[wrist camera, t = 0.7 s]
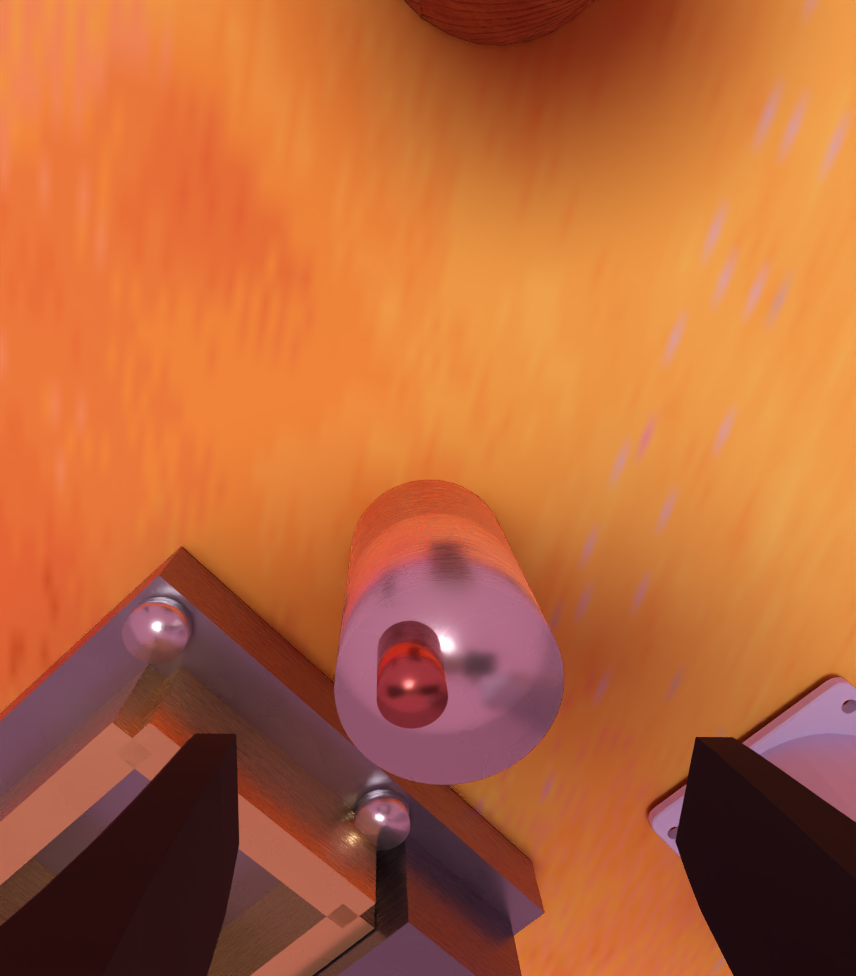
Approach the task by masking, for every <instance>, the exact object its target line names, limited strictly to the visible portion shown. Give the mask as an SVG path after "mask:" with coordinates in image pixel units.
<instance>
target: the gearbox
mask: <svg viewBox="0 0 856 976" xmlns="http://www.w3.org/2000/svg"><path fill="white" fill-rule="evenodd" d="M195 733H211V734H236V738H237V775H238V812H239V848H238V854H237V859H236V864H235V869H234V875H233V880H232V885H231V890H230V895H229V900H228V905H227V910H226V915H225V918H224V921H223V925H222V928H221V932H220V935H219V938H218V942H217V945H216V948H215V951H214V955H213V958H212V961H211V965H210V968H209V971H208V975H207V976H522V975H521V970H520V965H519V960H518V955H517V950H516V945H515V940H514V935H515V934H516V933H518V932H519V931H520V930H522V929H523V928H525V927H526V926H527V925H529V924H530V923H531V922H533V921H534V920H535V919H537V918H538V917H540V916H541V915H542V914H544V913H545V912H544V908H543V904H542V900H541V896H540V893H539V889H538V885H537V881H536V877H535V873H534V869H533V866H532V862H531V861H530V860H529V859H528V858H527V857H526V856H525V855H524V854H523V853H521V852H520V851H519V850H518V849H517V848H516V847H515V846H514V845H513V844H511V843H510V842H509V841H508V840H507V839H506V838H505V837H504V836H503V835H501V834H500V833H499V832H498V831H497V830H496V829H495V828H494V827H493V826H491V825H490V824H489V823H488V822H487V821H486V820H485V819H484V818H483V817H481V816H480V815H479V814H478V813H477V812H476V811H475V810H474V809H473V808H471V807H470V806H469V805H468V804H467V803H466V802H465V801H464V800H463V799H461V798H460V797H459V796H458V795H457V794H456V793H455V792H454V791H453V790H451V789H450V788H449V787H448V786H447V785H437V784H426V783H420V782H414V781H411V780H408V779H404V778H401V777H399V776H396V775H394V774H392V773H389V772H387V771H386V770H384V769H382V768H380V767H379V766H377V765H376V764H374V763H373V762H372V761H370V760H369V759H368V758H366V757H365V756H364V755H363V754H362V753H361V752H360V751H359V750H358V749H357V748H356V746H355V745H354V744H353V742H352V741H351V740H350V738H349V737H348V735H347V733H346V732H345V730H344V728H343V726H342V724H341V721H340V718H339V716H338V713H337V708H336V703H335V694H334V683H332V682H331V681H330V680H329V679H328V678H327V677H326V676H325V675H324V674H322V673H321V672H320V671H319V670H318V669H317V668H316V667H315V666H314V665H312V664H311V663H310V662H309V661H308V660H307V659H306V658H305V657H303V656H302V655H301V654H300V653H299V652H298V651H297V650H296V649H295V648H293V647H292V646H291V645H290V644H289V643H288V642H287V641H286V640H285V639H283V638H282V637H281V636H280V635H279V634H278V633H277V632H276V631H275V630H273V629H272V628H271V627H270V626H269V625H268V624H267V623H266V622H265V621H263V620H262V619H261V618H260V617H259V616H258V615H257V614H256V613H255V612H253V611H252V610H251V609H250V608H249V607H248V606H247V605H246V604H245V603H243V602H242V601H241V600H240V599H239V598H238V597H237V596H236V595H235V594H233V593H232V592H231V591H230V590H229V589H228V588H227V587H226V586H225V585H223V584H222V583H221V582H220V581H219V580H218V579H217V578H216V577H215V576H213V575H212V574H211V573H210V572H209V571H208V570H207V569H206V568H205V567H203V566H202V565H201V564H200V563H199V562H198V561H197V560H196V559H194V558H193V557H192V556H191V555H190V554H189V553H188V552H187V551H186V550H184V549H183V548H182V547H180V548H179V549H178V550H177V551H176V552H175V553H174V554H173V555H172V556H171V557H169V558H168V559H167V560H166V561H165V562H164V563H163V564H162V565H161V566H160V567H159V568H158V569H156V570H155V571H154V572H153V573H152V574H151V575H150V576H149V577H148V578H147V579H146V580H145V581H143V582H142V583H141V584H140V585H139V586H138V587H137V588H136V589H135V590H134V591H133V592H132V593H130V594H129V595H128V596H127V597H126V598H125V599H124V600H123V601H122V602H121V603H120V604H119V605H117V606H116V607H115V608H114V609H113V610H112V611H111V612H110V613H109V614H108V615H107V616H106V617H104V618H103V619H102V620H101V621H100V622H99V623H98V624H97V625H96V626H95V627H94V628H93V629H91V630H90V631H89V632H88V633H87V634H86V635H85V636H84V637H83V638H82V639H81V640H80V641H78V642H77V643H76V644H75V645H74V646H73V647H72V648H71V649H70V650H69V651H68V652H67V653H65V654H64V655H63V656H62V657H61V658H60V659H59V660H58V661H57V662H56V663H55V664H54V665H53V666H51V667H50V668H49V669H48V670H47V671H46V672H45V673H44V674H43V675H42V676H41V677H40V678H38V679H37V680H36V681H35V682H34V683H33V684H32V685H31V686H30V687H29V688H28V689H27V690H25V691H24V692H23V693H22V694H21V695H20V696H19V697H18V698H17V699H16V700H15V701H14V702H12V703H11V704H10V705H9V706H8V707H7V708H6V709H5V710H4V711H3V712H2V713H1V714H0V925H2V924H3V923H4V922H5V921H6V920H7V919H9V918H10V917H11V916H12V915H13V914H14V913H16V912H17V911H18V910H19V909H20V908H21V907H22V906H24V905H25V904H26V903H27V902H28V901H29V900H30V899H32V898H33V897H34V896H35V895H36V894H37V893H38V892H39V891H41V890H42V889H43V888H44V887H45V886H46V885H47V884H48V883H49V882H50V881H51V880H52V879H53V878H54V877H55V876H57V875H58V874H59V873H60V872H61V871H62V870H63V869H64V868H65V867H66V866H67V865H68V864H69V863H70V862H71V861H73V860H74V859H75V858H76V857H77V856H78V855H79V854H80V853H81V852H82V851H83V850H84V849H85V848H86V847H87V846H88V845H89V844H91V843H92V842H93V841H94V840H95V839H96V838H97V837H98V836H99V835H100V834H101V833H102V832H103V830H104V829H105V828H106V827H107V826H108V825H109V824H110V823H111V822H112V821H113V820H114V819H115V818H116V817H117V816H118V815H119V814H120V813H121V812H122V811H123V810H124V809H125V808H126V807H127V806H128V805H129V804H130V803H131V802H132V801H133V800H134V799H135V798H136V797H137V795H138V794H139V793H140V792H141V791H142V790H143V789H144V788H145V787H146V786H147V785H148V784H149V782H150V781H151V780H152V779H153V778H154V777H155V776H156V775H157V774H158V773H159V772H160V770H161V769H162V768H163V767H164V766H165V765H166V764H167V763H168V762H169V760H170V759H171V758H172V757H173V756H174V755H175V754H176V753H177V752H178V750H179V749H180V748H181V747H182V746H183V745H184V744H185V743H186V742H187V740H188V739H190V738H191V737H192V736H193V735H194V734H195Z"/></svg>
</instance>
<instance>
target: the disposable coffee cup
mask: <svg viewBox="0 0 856 976" xmlns="http://www.w3.org/2000/svg"><path fill="white" fill-rule="evenodd" d="M405 1H406V2H407V3H408V4H409V5H410V6H411V7H412V8H413V9H414V10H415V11H416V12H417V13H418V14H419V15H420V16H421V17H422V18H423V19H425V20H427V21H428V22H430V23H432V24H434V25H435V26H437V27H439V28H440V29H442V30H444V31H446V32H447V33H449V34H451V35H453V36H456V37H459V38H462V39H465V40H467V41H470V42H474V43H484V44H494V45H505V44H511V43H516V42H522V41H528V40H532V39H535V38H538V37H540V36H543V35H545V34H548V33H551V32H552V31H554V30H555V29H557V28H558V27H560V26H562V25H563V24H565V23H566V22H568V21H569V20H571V19H573V18H574V17H575V16H576V15H577V14H578V13H579V12H580V11H581V10H582V9H584V8H585V7H586V6H587V5H589V4H590V3H591V2H593V1H594V0H405Z"/></svg>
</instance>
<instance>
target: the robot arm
mask: <svg viewBox="0 0 856 976" xmlns="http://www.w3.org/2000/svg"><path fill="white" fill-rule="evenodd" d="M847 700H849V701H848V702H847V703H846V704H845V705H843V706H842V704H843V703H844V702H845V701H847ZM648 820H649V823H650V825H651V827H652V829H653V830H654V832H655V833H656V834H657V835H658V836H659V837H660V838H661V839H662V840H663V841H664V842H665V843H666V844H667V845H668V846H669V847H670V848H671V849H672V850H673V851H674V852H675V853H676V854H677V855H678V856H679V857H680V858H681V859H682V862H683V865H684V868H685V871H686V874H687V876H688V879H689V882H690V884H691V887H692V889H693V892H694V894H695V897H696V900H697V902H698V905H699V907H700V910H701V912H702V914H703V916H704V918H705V920H706V922H707V924H708V926H709V928H710V930H711V932H712V934H713V936H714V938H715V940H716V942H717V944H718V946H719V948H720V950H721V952H722V954H723V956H724V958H725V960H726V962H727V964H728V966H729V968H730V969H731V971H732V973H733V975H734V976H856V689H855V687H854V686H853V685H851V684H850V683H849V682H848V681H847V680H845V679H844V678H841V677H835V678H831V679H829V680H827V681H826V682H824V683H823V684H822V685H820V686H819V687H818V688H816V689H815V690H813V691H812V692H811V693H809V694H808V695H807V696H805V697H804V698H803V699H801V700H800V701H799V702H797V703H796V704H794V705H793V706H792V707H790V708H789V709H788V710H786V711H785V712H784V713H782V714H781V715H779V716H778V717H777V718H775V719H774V720H773V721H771V722H770V723H769V724H767V725H766V726H765V727H763V728H762V729H760V730H759V731H758V732H756V733H755V734H754V735H752V736H751V737H750V738H748V739H747V740H745V741H744V742H743V743H741V742H739V741H738V740H736V739H734V738H733V737H696V739H695V744H694V749H693V754H692V759H691V764H690V769H689V774H688V779H687V784H686V785H684V786H683V787H682V788H680V789H679V790H678V791H676V792H675V793H673V794H672V795H671V796H669V797H668V798H667V799H665V800H664V801H663V802H661V803H660V804H658V805H657V806H656V807H654V808H653V809H652V810H651V811H650V813H649V816H648ZM675 826H677V827H676V828H675V829H672V830H670V828H672V827H675ZM238 848H239V812H238V775H237V738H236V734H211V733H195V734H194V735H193V736H192V737H191V738H190V739H188V740H187V742H186V743H185V744H184V745H183V746H182V747H181V748H180V749H179V750H178V752H177V753H176V754H175V755H174V756H173V757H172V758H171V759H170V760H169V762H168V763H167V764H166V765H165V766H164V767H163V768H162V769H161V770H160V772H159V773H158V774H157V775H156V776H155V777H154V778H153V779H152V780H151V781H150V782H149V784H148V785H147V786H146V787H145V788H144V789H143V790H142V791H141V792H140V793H139V794H138V795H137V797H136V798H135V799H134V800H133V801H132V802H131V803H130V804H129V805H128V806H127V807H126V808H125V809H124V810H123V811H122V812H121V813H120V814H119V815H118V816H117V817H116V818H115V819H114V820H113V821H112V822H111V823H110V824H109V825H108V826H107V827H106V828H105V829H104V830H103V832H102V833H101V834H100V835H99V836H98V837H97V838H96V839H95V840H94V841H93V842H92V843H91V844H89V845H88V846H87V847H86V848H85V849H84V850H83V851H82V852H81V853H80V854H79V855H78V856H77V857H76V858H75V859H74V860H73V861H71V862H70V863H69V864H68V865H67V866H66V867H65V868H64V869H63V870H62V871H61V872H60V873H59V874H58V875H57V876H55V877H54V878H53V879H52V880H51V881H50V882H49V883H48V884H47V885H46V886H45V887H44V888H43V889H42V890H41V891H39V892H38V893H37V894H36V895H35V896H34V897H33V898H32V899H30V900H29V901H28V902H27V903H26V904H25V905H24V906H22V907H21V908H20V909H19V910H18V911H17V912H16V913H14V914H13V915H12V916H11V917H10V918H9V919H7V920H6V921H5V922H4V923H3V924H2V925H0V976H207V975H208V971H209V968H210V965H211V961H212V958H213V955H214V951H215V948H216V945H217V942H218V938H219V935H220V932H221V928H222V925H223V921H224V918H225V915H226V910H227V905H228V900H229V895H230V890H231V885H232V880H233V875H234V869H235V864H236V859H237V854H238Z"/></svg>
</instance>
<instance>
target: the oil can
mask: <svg viewBox="0 0 856 976" xmlns="http://www.w3.org/2000/svg"><path fill="white" fill-rule="evenodd" d="M563 690H564V669H563V662H562V658H561V654H560V650H559V648H558V645H557V643H556V641H555V638H554V636H553V634H552V632H551V630H550V628H549V626H548V624H547V622H546V620H545V618H544V616H543V614H542V612H541V610H540V608H539V605H538V603H537V601H536V599H535V597H534V595H533V593H532V591H531V589H530V587H529V585H528V583H527V581H526V579H525V577H524V575H523V573H522V571H521V569H520V567H519V564H518V562H517V560H516V558H515V556H514V554H513V552H512V550H511V548H510V546H509V544H508V542H507V540H506V538H505V536H504V534H503V532H502V530H501V528H500V526H499V523H498V521H497V519H496V518H495V516H494V514H493V513H492V511H491V510H490V509H489V507H488V506H487V505H486V504H485V503H484V502H483V501H482V500H481V499H480V498H479V497H478V496H476V495H475V494H474V493H472V492H471V491H469V490H467V489H465V488H464V487H462V486H459V485H456V484H454V483H450V482H446V481H440V480H419V481H412V482H408V483H405V484H401V485H399V486H397V487H394V488H392V489H390V490H389V491H387V492H385V493H384V494H382V495H381V496H380V497H378V498H377V499H376V500H375V501H374V502H373V503H372V504H371V505H370V506H369V507H368V508H367V509H366V511H365V512H364V513H363V515H362V516H361V518H360V520H359V522H358V524H357V526H356V529H355V531H354V535H353V539H352V544H351V552H350V560H349V568H348V576H347V584H346V592H345V600H344V608H343V617H342V625H341V633H340V641H339V649H338V657H337V665H336V673H335V683H334V694H335V703H336V708H337V713H338V716H339V718H340V721H341V724H342V726H343V728H344V730H345V732H346V733H347V735H348V737H349V738H350V740H351V741H352V742H353V744H354V745H355V746H356V748H357V749H358V750H359V751H360V752H361V753H362V754H363V755H364V756H365V757H366V758H368V759H369V760H370V761H372V762H373V763H374V764H376V765H377V766H379V767H380V768H382V769H384V770H386V771H387V772H389V773H392V774H394V775H396V776H399V777H401V778H404V779H408V780H411V781H414V782H420V783H426V784H437V785H450V784H461V783H467V782H473V781H476V780H480V779H484V778H487V777H489V776H492V775H494V774H497V773H499V772H501V771H503V770H505V769H507V768H508V767H510V766H512V765H513V764H515V763H516V762H518V761H519V760H521V759H522V758H524V757H525V756H526V755H527V754H528V753H529V752H530V751H532V750H533V749H534V748H535V747H536V745H537V744H538V743H539V742H540V741H541V740H542V739H543V737H544V736H545V734H546V733H547V732H548V730H549V729H550V727H551V725H552V723H553V721H554V719H555V717H556V715H557V713H558V710H559V707H560V704H561V700H562V695H563Z"/></svg>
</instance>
